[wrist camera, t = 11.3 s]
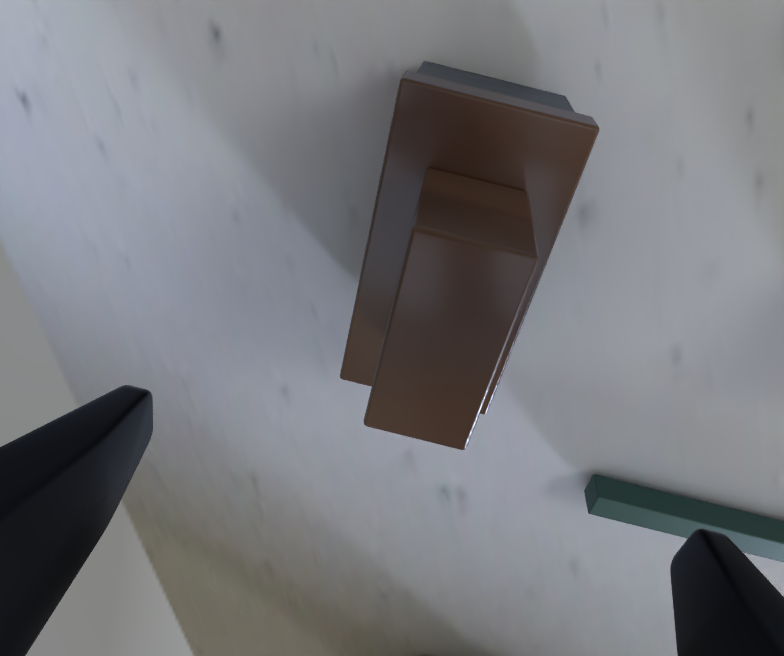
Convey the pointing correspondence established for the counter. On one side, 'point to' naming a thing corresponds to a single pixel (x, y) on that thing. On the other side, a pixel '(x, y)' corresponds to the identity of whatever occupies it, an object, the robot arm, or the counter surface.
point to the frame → (683, 515)
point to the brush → (458, 245)
